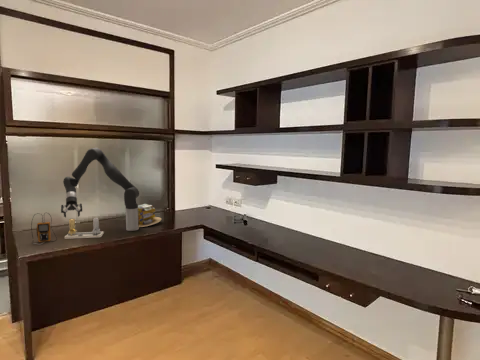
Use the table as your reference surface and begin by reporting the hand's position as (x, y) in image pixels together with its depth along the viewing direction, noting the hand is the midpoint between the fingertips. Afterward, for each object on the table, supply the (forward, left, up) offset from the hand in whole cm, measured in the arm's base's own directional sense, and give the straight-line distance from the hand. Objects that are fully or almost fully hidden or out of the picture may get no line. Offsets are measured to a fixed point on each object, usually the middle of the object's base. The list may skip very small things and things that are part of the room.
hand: (72, 216), depth 241 cm
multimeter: (+13, +20, -13) cm, 27 cm away
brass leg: (-2, +8, -11) cm, 14 cm away
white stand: (-10, +8, -13) cm, 18 cm away
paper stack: (-51, -22, -14) cm, 57 cm away
